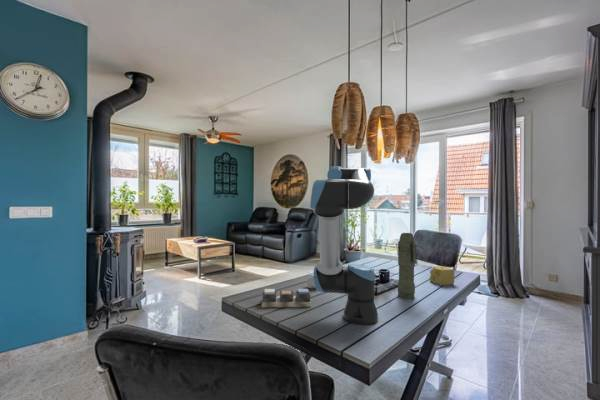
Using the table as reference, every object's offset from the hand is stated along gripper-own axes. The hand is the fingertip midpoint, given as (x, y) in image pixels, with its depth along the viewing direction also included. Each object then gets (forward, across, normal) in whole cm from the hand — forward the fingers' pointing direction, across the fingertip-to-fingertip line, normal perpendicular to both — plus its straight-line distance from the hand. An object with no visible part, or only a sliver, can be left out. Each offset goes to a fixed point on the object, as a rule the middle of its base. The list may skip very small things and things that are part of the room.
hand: (334, 236), depth 160 cm
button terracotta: (+30, -13, +27) cm, 42 cm away
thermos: (+33, -4, -40) cm, 51 cm away
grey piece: (+32, -13, +27) cm, 44 cm away
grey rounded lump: (+33, +13, +10) cm, 37 cm away
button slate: (+29, -13, +18) cm, 36 cm away
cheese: (+33, +22, -75) cm, 85 cm away
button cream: (+29, -13, +35) cm, 47 cm away
